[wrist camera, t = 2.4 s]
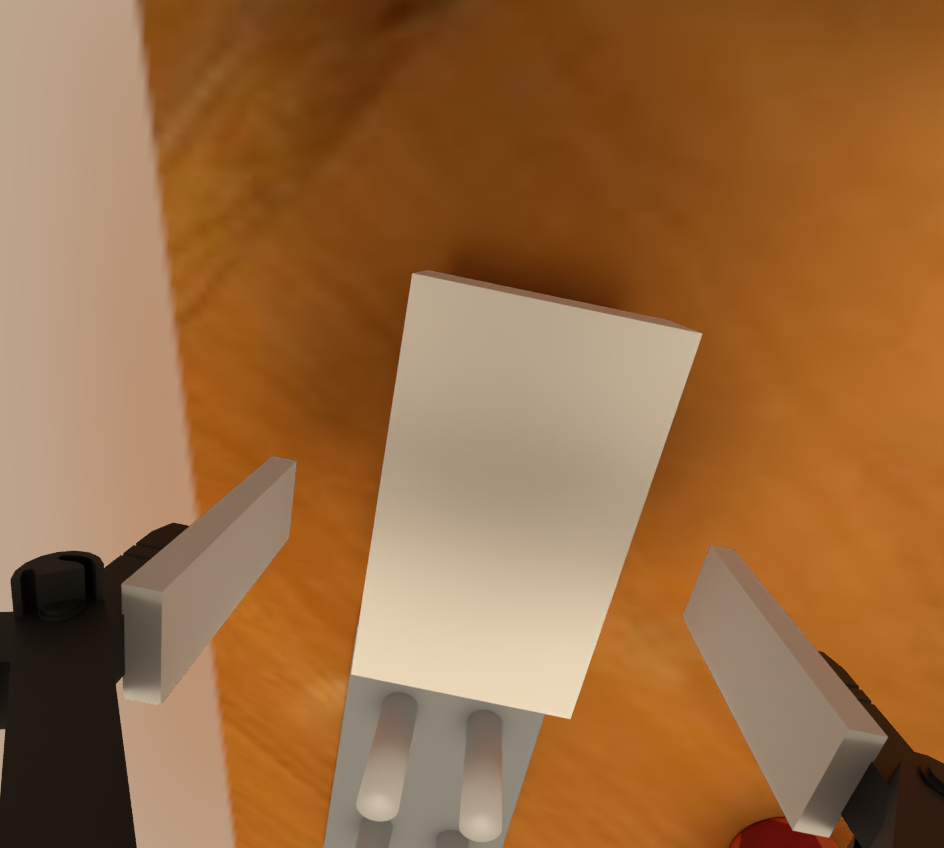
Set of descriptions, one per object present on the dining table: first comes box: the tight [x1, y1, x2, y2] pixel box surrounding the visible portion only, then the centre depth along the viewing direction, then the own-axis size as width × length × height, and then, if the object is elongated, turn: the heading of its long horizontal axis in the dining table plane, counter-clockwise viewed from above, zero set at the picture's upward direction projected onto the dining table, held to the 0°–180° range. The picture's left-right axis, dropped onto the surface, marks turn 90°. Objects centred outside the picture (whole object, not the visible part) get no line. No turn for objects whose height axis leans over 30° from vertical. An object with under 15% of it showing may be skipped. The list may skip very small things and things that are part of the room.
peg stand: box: [324, 622, 545, 848], centre depth 26 cm, size 18×10×6 cm, turn 169°
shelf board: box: [351, 270, 702, 719], centre depth 17 cm, size 14×8×3 cm, turn 169°
